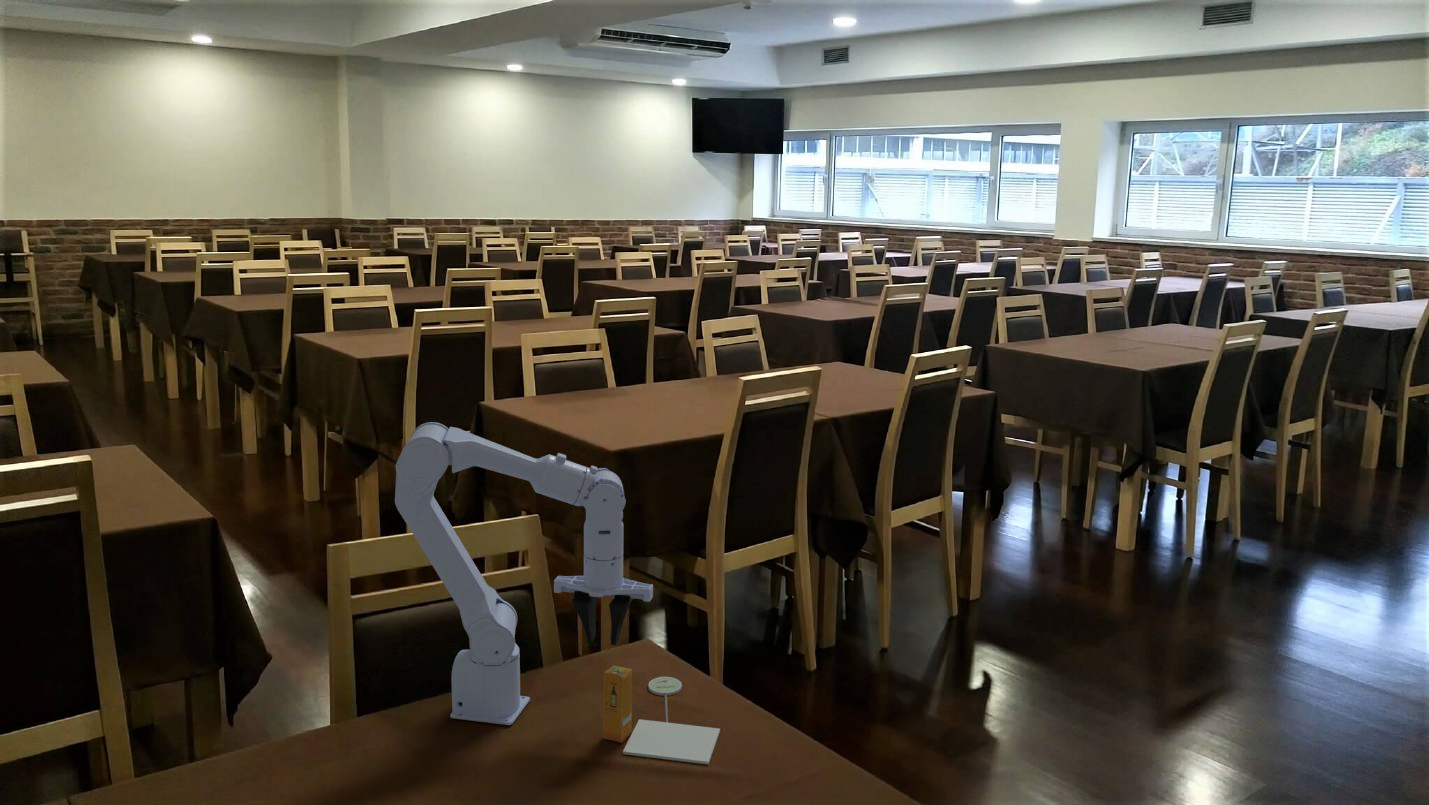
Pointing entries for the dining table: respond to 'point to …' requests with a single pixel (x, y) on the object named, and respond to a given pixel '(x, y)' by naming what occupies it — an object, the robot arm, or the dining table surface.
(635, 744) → the mat
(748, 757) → the dining table surface
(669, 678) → the sign
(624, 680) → the supplement box
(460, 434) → the robot arm
